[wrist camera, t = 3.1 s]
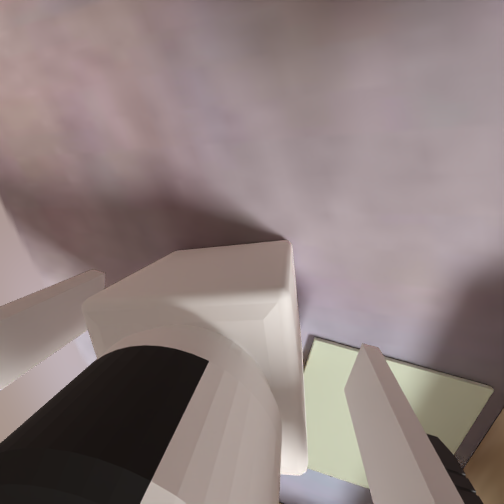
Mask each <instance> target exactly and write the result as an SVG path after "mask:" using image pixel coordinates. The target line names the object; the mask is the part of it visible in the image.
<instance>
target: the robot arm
mask: <svg viewBox="0 0 504 504" xmlns="http://www.w3.org/2000/svg"><path fill="white" fill-rule="evenodd" d="M105 276H106V273H104V272H100V271H97V270H93V269H92V270H89V271H87V272H84V273H82V274H79V275H77V276H74V277H72V278H69V279H67V280H64V281H62V282H59V283H57V284H55V285H52V286H50V287H47V288H45V289H42V290H40V291H37V292H35V293H32V294H30V295H27V296H25V297H23V298H20V299H17V300H15V301H12V302H10V303H7V304H5V305H3V306H0V390H2V389H3V388H5V387H6V386H7V385H9V384H10V383H12V382H13V381H15V380H16V379H18V378H19V377H21V376H22V375H23V374H25V373H26V372H28V371H29V370H31V369H32V368H33V367H35V366H37V365H38V364H39V363H41V362H42V361H44V360H45V359H47V358H48V357H49V356H51V355H52V354H54V353H55V352H57V351H58V350H60V349H61V348H63V347H64V346H65V345H67V344H68V343H70V342H71V341H73V340H74V339H75V338H77V337H78V336H80V335H81V334H83V333H84V332H86V331H87V330H88V329H87V326H86V323H85V319H84V316H83V313H82V304H83V302H84V301H85V300H86V299H87V298H88V297H90V296H92V295H94V294H96V293H98V292H100V291H102V290H103V289H105ZM344 392H345V396H346V400H347V404H348V408H349V412H350V415H351V419H352V423H353V427H354V431H355V435H356V439H357V442H358V446H359V450H360V454H361V458H362V462H363V465H364V469H365V473H366V477H367V481H368V485H369V489H370V492H371V496H372V500H373V504H483V502H482V500H481V499H480V497H479V496H477V495H476V490H475V489H474V487H473V486H472V484H471V482H470V481H469V479H468V478H466V474H465V472H464V471H463V469H462V468H461V466H460V464H459V463H458V461H457V459H456V458H455V456H454V455H453V453H452V452H451V451H450V450H449V449H448V448H447V447H446V446H445V445H444V443H443V442H442V441H441V440H440V439H439V438H438V437H436V436H433V435H430V434H426V433H425V431H424V429H423V427H422V425H421V424H420V422H419V420H418V418H417V416H416V414H415V413H414V411H413V409H412V407H411V405H410V403H409V402H408V400H407V398H406V396H405V394H404V393H403V391H402V389H401V387H400V385H399V383H398V382H397V380H396V378H395V376H394V374H393V373H392V371H391V369H390V367H389V365H388V363H387V362H386V360H385V358H384V356H383V354H382V352H381V351H380V349H379V348H378V347H374V346H371V345H367V344H363V343H362V345H361V348H360V350H359V353H358V355H357V358H356V360H355V363H354V365H353V368H352V370H351V373H350V375H349V378H348V380H347V383H346V385H345V388H344Z"/></svg>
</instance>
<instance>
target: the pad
mask: <svg viewBox="0 0 504 504" xmlns="http://www.w3.org/2000/svg"><path fill="white" fill-rule="evenodd" d="M358 353H359V349H356V348H352V347H349V346H345V345H342V344H338V343H334V342H331V341H327V340H324V339H320V338H317V337H314V340H313V343H312V346H311V349H310V352H309V355H308V358H307V361H306V364H305V367H304V370H303V373H304V391H305V410H306V428H307V447H308V466H307V468H308V469H311V470H314V471H317V472H320V473H323V474H326V475H329V476H332V477H335V478H338V479H341V480H344V481H347V482H350V483H353V484H356V485H359V486H362V487H365V488H368V489H369V485H368V481H367V477H366V473H365V469H364V465H363V462H362V458H361V454H360V450H359V446H358V442H357V439H356V435H355V431H354V427H353V423H352V419H351V415H350V412H349V408H348V404H347V400H346V396H345V392H344V388H345V385H346V383H347V380H348V378H349V375H350V373H351V370H352V368H353V365H354V363H355V360H356V358H357V355H358ZM384 358H385V360H386V362H387V363H388V365H389V367H390V369H391V371H392V373H393V374H394V376H395V378H396V380H397V382H398V383H399V385H400V387H401V389H402V391H403V393H404V394H405V396H406V398H407V400H408V402H409V403H410V405H411V407H412V409H413V411H414V413H415V414H416V416H417V418H418V420H419V422H420V424H421V425H422V427H423V429H424V431H425V433H426V434H430V435H433V436H436V437H438V438H439V439H440V440H441V441H442V442H443V443H444V445H445V446H446V447H447V448H448V449H449V450H450V451H451V452H452V453H453V455H454V454H455V452H456V450H457V449H458V447H459V446H460V444H461V442H462V441H463V439H464V438H465V436H466V434H467V433H468V431H469V430H470V428H471V426H472V425H473V423H474V422H475V420H476V418H477V417H478V415H479V414H480V412H481V410H482V409H483V407H484V406H485V404H486V402H487V401H488V399H489V398H490V396H491V394H492V393H493V391H494V390H493V388H492V387H491V386H488V385H485V384H481V383H478V382H474V381H470V380H467V379H463V378H460V377H456V376H452V375H449V374H445V373H442V372H438V371H435V370H431V369H427V368H424V367H420V366H417V365H413V364H410V363H406V362H402V361H399V360H395V359H392V358H388V357H385V356H384Z"/></svg>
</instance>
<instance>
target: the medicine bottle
mask: <svg viewBox="0 0 504 504" xmlns="http://www.w3.org/2000/svg"><path fill="white" fill-rule="evenodd" d="M82 313H83V316H84V319H85V323H86V326H87V329H88V332H89V335H90V338H91V341H92V344H93V347H94V350H95V353H96V357H97V359H96V360H95V361H94V362H93V363H92V364H91V365H90V366H88V367H87V368H86V369H85V370H84V371H83V372H82V373H80V374H79V375H78V376H77V377H76V378H75V379H74V380H72V381H71V382H70V383H69V384H68V385H67V386H66V387H64V388H63V389H62V390H61V391H60V392H59V393H58V394H56V395H55V396H54V397H53V398H52V399H51V400H49V401H48V402H47V403H46V404H45V405H44V406H43V407H41V408H40V409H39V410H38V411H37V412H36V413H35V414H33V415H32V416H31V417H30V418H29V419H28V420H27V421H25V422H24V423H23V424H22V425H21V426H20V427H19V428H17V430H15V431H14V432H13V433H12V434H11V435H9V436H8V437H7V438H6V439H5V440H4V441H3V442H1V443H0V504H279V490H280V474H285V475H297V476H299V475H302V474H303V473H305V472H306V470H307V466H308V447H307V428H306V410H305V391H304V373H303V354H302V341H301V331H300V321H299V310H298V300H297V290H296V280H295V269H294V259H293V249H292V244H291V243H290V242H289V241H287V240H281V241H271V242H260V243H250V244H240V245H230V246H219V247H209V248H199V249H189V250H178V251H174V252H172V253H170V254H169V255H167V256H165V257H163V258H161V259H159V260H157V261H156V262H154V263H152V264H150V265H148V266H146V267H144V268H142V269H141V270H139V271H137V272H135V273H133V274H131V275H129V276H128V277H126V278H124V279H122V280H120V281H118V282H116V283H115V284H113V285H111V286H109V287H107V288H105V289H103V290H102V291H100V292H98V293H96V294H94V295H92V296H90V297H88V298H87V299H86V300H85V301H84V302H83V304H82Z"/></svg>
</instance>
